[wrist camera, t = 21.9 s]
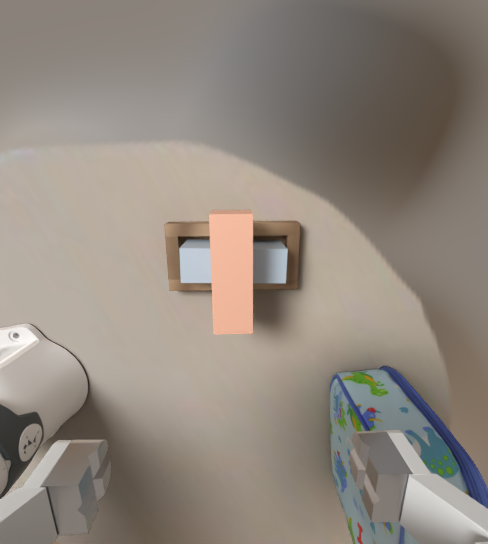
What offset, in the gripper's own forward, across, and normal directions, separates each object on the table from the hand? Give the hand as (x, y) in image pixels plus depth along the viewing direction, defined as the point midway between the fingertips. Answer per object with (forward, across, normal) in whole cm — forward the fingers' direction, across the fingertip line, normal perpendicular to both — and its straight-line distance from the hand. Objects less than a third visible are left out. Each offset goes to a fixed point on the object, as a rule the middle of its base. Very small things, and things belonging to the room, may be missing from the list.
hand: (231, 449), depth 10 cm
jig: (+31, 0, 0) cm, 31 cm away
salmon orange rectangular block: (+24, 0, 0) cm, 25 cm away
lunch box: (+31, -20, +29) cm, 47 cm away
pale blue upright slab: (+30, 0, 0) cm, 31 cm away
